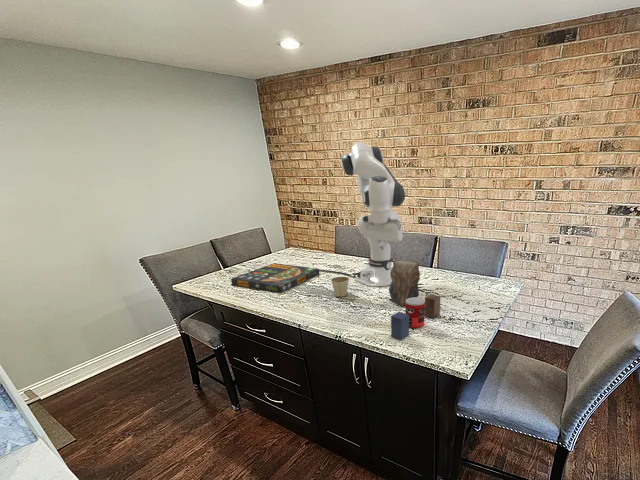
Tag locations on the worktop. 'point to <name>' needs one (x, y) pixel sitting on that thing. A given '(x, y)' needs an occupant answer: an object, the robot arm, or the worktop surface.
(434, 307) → the walnut block
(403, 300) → the owl
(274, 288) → the pizza box
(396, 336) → the blue block
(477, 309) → the worktop surface
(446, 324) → the worktop surface
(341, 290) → the flower pot
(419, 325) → the canned food
